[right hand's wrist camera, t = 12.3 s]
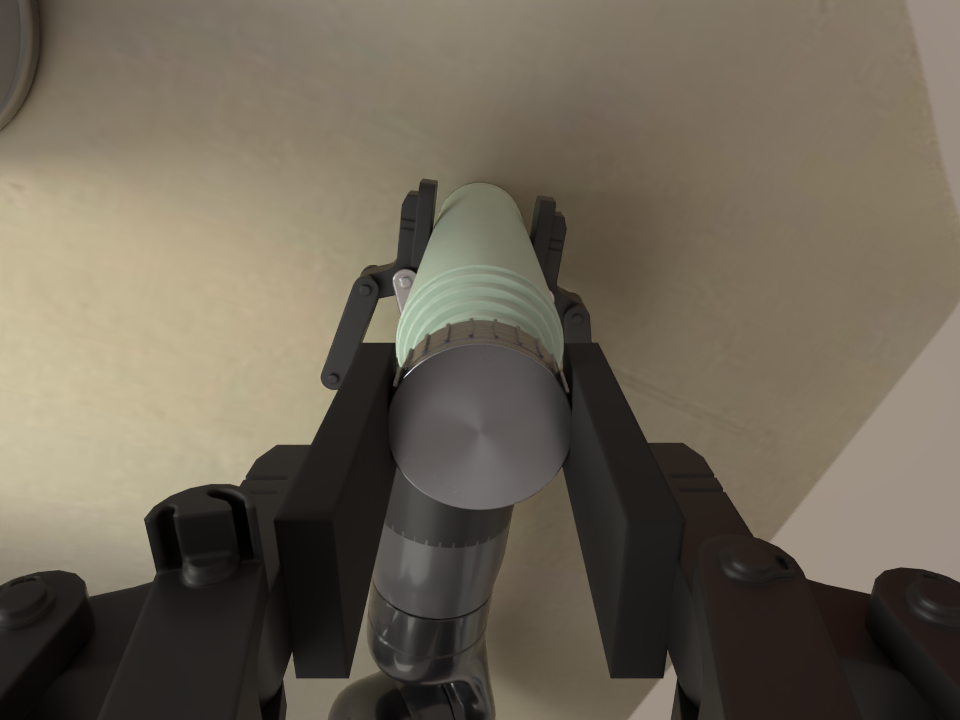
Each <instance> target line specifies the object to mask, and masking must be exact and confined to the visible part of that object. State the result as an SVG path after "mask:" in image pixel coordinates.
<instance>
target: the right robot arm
mask: <svg viewBox="0 0 960 720" xmlns="http://www.w3.org/2000/svg"><path fill="white" fill-rule="evenodd" d="M39 46H40V25H39V12H38V6H37V0H0V130H1V129H2V128H3V127H4V126H5V125H6V124H7V123H9V121H10V120H11V119H12V118H13V117H14V115H15V114H16V113H17V111H18V110H19V108H20V107H21V105H22V104H23V102H24V100H25V98H26V96H27V94H28V92H29V90H30V87H31V84H32V81H33V78H34V75H35V71H36V66H37V62H38V54H39ZM396 372H397V365H396V346H395V343H361V345H360V347H359V349H358V351H357V353H356V355H355V357H354V359H353V361H352V363H351V365H350V367H349V369H348V371H347V373H346V375H345V377H344V379H343V381H342V383H341V385H340V387H339V389H338V391H337V393H336V395H335V397H334V399H333V401H332V403H331V405H330V407H329V409H328V411H327V413H326V416H325V418H324V420H323V422H322V424H321V426H320V428H319V430H318V432H317V434H316V436H315V438H314V440H313V442H312V444H311V445H276V446H275V447H273V448H272V449H271V450H269V451H268V452H266V453H265V454H264V455H262V456H261V457H259V458H258V459H256V461H255V463H254V464H253V466H252V467H251V469H250V471H249V472H248V474H247V475H246V480H243V482H242V483H241V485H240V487H238V486H235V485H231V484H210V485H204V486H199V487H194V488H190V489H187V490H185V491H182V492H179V493H177V494H174V495H172V496H170V497H168V498H167V499H165V500H164V501H162V502H160V503H159V504H157V505H156V506H154V507H153V509H152V510H151V511H150V512H149V514H148V515H147V516H146V517H145V518H144V521H145V525H146V529H147V534H148V538H149V542H150V546H151V551H152V555H153V559H154V563H155V568H156V572H157V573H156V576H155V578H154V581H153V582H151V583H147V584H144V585H140V586H137V587H133V588H128V589H124V590H119V591H114V592H110V593H105V594H101V595H96V596H91V597H89V595H88V591H87V588H86V584H85V582H84V581H83V580H82V579H81V578H80V577H79V576H78V575H77V574H75V573H70V572H65V571H60V570H56V571H46V572H37V573H33V574H29V575H26V576H22V577H19V578H16V579H13V580H11V581H9V582H7V583H5V584H3V585H1V586H0V720H285V718H286V708H287V704H286V697H285V690H284V683H283V677H284V674H285V671H286V668H287V665H288V662H289V659H290V657H291V654H292V652H293V659H294V666H295V673H296V678H349V675H350V671H351V667H352V662H353V658H354V653H355V649H356V645H357V640H358V636H359V632H360V627H361V623H362V618H363V614H364V610H365V605H366V601H367V596H368V592H369V588H370V583H371V579H372V574H373V570H374V566H375V561H376V557H377V552H378V548H379V544H380V539H381V535H382V531H383V526H384V522H385V517H386V513H387V509H388V504H389V500H390V495H391V491H392V487H393V482H394V478H395V473H396V469H397V465H396V463H395V461H394V459H393V457H392V454H391V452H390V444H389V427H388V406H389V403H390V400H391V396H392V393H393V390H394V389H392V385H393V381H394V378H395V375H396ZM563 372H564V375H565V378H566V382H567V385H568V388H569V391H570V395H568V398H569V401H570V405H571V408H572V420H571V437H570V450H569V454H568V456H567V458H566V460H565V462H564V464H563V471H564V475H565V480H566V484H567V488H568V493H569V497H570V502H571V506H572V510H573V515H574V519H575V523H576V528H577V532H578V537H579V541H580V545H581V550H582V554H583V559H584V563H585V567H586V572H587V576H588V581H589V585H590V589H591V594H592V598H593V603H594V607H595V611H596V616H597V620H598V625H599V629H600V633H601V638H602V642H603V646H604V651H605V655H606V660H607V664H608V668H609V673H610V677H611V678H663V677H664V670H665V663H666V656H667V649H668V652H669V655H670V657H671V660H672V663H673V666H674V669H675V672H676V675H677V683H676V690H675V696H674V703H673V709H672V716H671V720H960V583H959V582H957V581H955V580H953V579H951V578H949V577H947V576H944V575H941V574H938V573H934V572H931V571H927V570H923V569H913V568H902V567H901V568H896V569H891V570H886V571H884V572H883V573H882V574H881V575H879V576H878V577H877V578H876V579H875V582H874V586H873V589H872V593H871V594H867V593H863V592H858V591H853V590H849V589H844V588H839V587H835V586H830V585H826V584H822V583H819V582H815V581H812V580H808V579H806V577H805V575H804V572H803V571H802V569H801V568H800V566H799V565H798V564H797V562H796V561H795V559H794V558H792V557H791V556H790V555H788V554H787V553H786V552H785V551H783V550H782V549H780V548H779V547H777V546H775V545H773V544H771V543H768V542H766V541H764V540H762V539H759V538H754V537H753V535H752V533H751V532H750V530H749V529H748V527H747V526H746V524H745V522H744V521H743V519H742V518H741V516H740V514H739V513H738V511H737V510H736V508H735V507H734V505H733V503H732V502H731V500H730V499H729V497H728V495H727V494H726V492H723V488H722V486H721V484H720V483H719V481H718V480H717V478H714V473H713V472H712V470H711V469H710V467H709V465H708V464H707V462H706V461H705V459H704V458H703V457H702V456H701V455H699V454H698V453H696V452H695V451H694V450H692V449H691V448H689V447H688V446H687V445H685V444H684V443H647V441H646V439H645V437H644V435H643V433H642V431H641V429H640V426H639V424H638V422H637V420H636V418H635V416H634V414H633V412H632V410H631V408H630V406H629V404H628V402H627V400H626V398H625V396H624V394H623V392H622V390H621V388H620V386H619V384H618V382H617V380H616V378H615V376H614V374H613V372H612V370H611V368H610V366H609V364H608V362H607V360H606V358H605V356H604V354H603V352H602V350H601V348H600V346H599V344H598V343H564V357H563Z"/></svg>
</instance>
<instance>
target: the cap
mask: <svg viewBox="0 0 960 720" xmlns="http://www.w3.org/2000/svg"><path fill="white" fill-rule="evenodd" d="M392 389H394V390H393V393H392V396H391V400H390V403H389V406H388V427H389V444H390V452H391V454H392V457H393V459H394V461H395V463H396V465H397V466H398V468H399V470H400V471H401V472H402V473H403V475H404V476H405V477H406V478H407V479H408V480H409V481H410V483H411V484H412V485H413V486H415V487H416V488H417V489H419V490H420V491H421V492H422V493H424V494H426V495H427V496H429V497H431V498H432V499H435V500H437V501H439V502H441V503H444V504H447V505H450V506H453V507H458V508H463V509H472V510H489V509H497V508H502V507H506V506H510V505H513V504H516V503H518V502H521V501H523V500H525V499H527V498H529V497H531V496H532V495H534V494H535V493H537V492H538V491H540V490H541V489H542V488H544V487H545V486H546V485H547V484H548V483H549V482H550V481H551V480H552V479H553V478H554V477H555V476H556V475H557V473H558V472H559V470H560V469H561V467H562V466H563V464H564V462H565V460H566V458H567V456H568V454H569V450H570V437H571V420H572V408H571V405H570V401H569V398H568V395H570V391H569V388H568V385H567V382H566V378H565V375H564V372H562V373H561V372H560V370H559V368H558V364H557V361H556V358H555V355H554V354H553V353H552V354H550V353H549V352H548V350H547V349H546V348H545V347H544V346H543V345H542V344H541V342H540V339H539V338H538V337H536V339H535V338H534V337H532V336H531V335H529V334H528V333H526V332H524V331H522V330H521V329H520V326H518V325H517V326H516V327H514V326H511V325H508V324H505V323H501V322H498V321H497V319H493V321H488V320H473V318H469V321H464V322H459V323H455V324H452V325H450V323H447V324H446V327H444V328H441V329H439V330H437V331H435V332H434V333H432V334H429V333H427V334H426V335H425V338H424V339H423V340H422V341H421V342H420V343H419V344H418V345H417V346H416V347H415V348H414V349H412V348H410V349H409V351H408V355H407V358H406V359H405V361H404V363H403V365H402V367H400V366H398V369H397V372H396V375H395V378H394V381H393V385H392Z"/></svg>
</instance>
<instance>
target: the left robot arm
mask: <svg viewBox="0 0 960 720" xmlns="http://www.w3.org/2000/svg"><path fill="white" fill-rule="evenodd" d="M437 187H438V181H436V180H429V179H422V180H421V182H420V186H419V191H412V190H411V191H410V192H409V193H408V194H407V196H406V198H405V200H404V202H403V204H402V210H401V221H400V232H399V243H398V254H397V260H396V261H394V262H393V263H390V264H387V265H382V266H377V265H369V266H367V267H366V268H365V269H364V270H363V271H362V273H361V275H360V277H359V278H358V279H357V280H356V281H355V283H354V285H353V287H352V290H351V293H350V295H349V298H348V301H347V304H346V307H345V309H344V312H343V315H342V318H341V321H340V323H339V326H338V329H337V332H336V335H335V337H334V340H333V343H332V346H331V348H330V351H329V354H328V357H327V360H326V362H325V365H324V368H323V371H322V374H321V381H322V383H323V385H324V386H325V387H327V388H328V389H332V390H337V389H339V387H340V385H341V383H342V381H343V379H344V377H345V375H346V373H347V371H348V369H349V367H350V365H351V363H352V361H353V359H354V357H355V355H356V353H357V351H358V349H359V347H360V345H361V343H362V342H363V340H364V337H365V334H366V332H367V329H368V326H369V324H370V321H371V318H372V316H373V313H374V310H375V308H376V305H377V302H378V300H379V298H384V297H389V296H393V295H396V299H397V303H398V307H399V311H400V315H402V312H403V309H404V307H405V304H406V301H407V299H408V296H409V293H410V291H411V288H412V285H413V282H414V280H415V277H416V274H417V272H418V269H419V266H420V264H421V261H422V258H423V256H424V253H425V250H426V248H427V245H428V242H429V240H430V237H431V234H432V232H433V224H434V215H435V206H436V197H437ZM555 209H556V201H555V200H554V199H553V198H551V197H544V196H537V199H536V204H535V209H534V215H533V221H532V227H531V233H530V241H531V243H532V246H533V249H534V251H535V254H536V257H537V259H538V262H539V265H540V267H541V270H542V273H543V275H544V278H545V281H546V283H547V286H548V289H549V292H550V294H551V297H552V300H553V302H554V305H555V308H556V310H557V313H558V316H559V318H560V322H561V325H562V329H563V338H564V343H591V326H590V315H589V313H588V311H587V309H586V307H585V305H584V303H583V301H582V299H581V298H580V296H579V295H577V294H576V293H570V292H568V291H566V290H564V289H562V288H561V287H559V286H558V285H557V277H558V272H559V266H560V261H561V256H562V250H563V245H564V240H565V235H566V230H567V228H566V223H565V218H564V216H563V215H562V213H561V212H556V211H555ZM563 357H564V349H563V356H562V360H563ZM396 365H397V369H398V366H399V363H398V358H396ZM560 372H561V373H562V372H563V369H562V370H560ZM513 505H514V504H513ZM513 505H510V506H506V507H502V508H497V509H489V510H472V509H463V508H458V507H453V506H450V505H447V504H444V503H441V502H439V501H437V500H435V499H432V498H431V497H429V496H427V495H426V494H424V493H422V492H421V491H420V490H419V489H417V488H416V487H415V486H413V485H412V484H411V483H410V481H409V480H408V479H407V478H406V477H405V476H404V475H403V473H402V472H401V471H400V470H399V468H398V466H397V469H396V473H395V478H394V482H393V487H392V491H391V495H390V500H389V504H388V509H387V513H386V517H385V522H384V526H383V531H382V535H381V539H380V544H379V548H378V552H377V557H376V561H375V566H374V570H373V574H372V579H371V587H370V597H369V608H368V620H367V641H368V646H369V650H370V653H371V656H372V657H373V659H374V661H375V663H376V664H377V666H378V667H379V668H380V669H381V670H382V671H380V672H377V673H375V674H372V675H370V676H367V677H365V678H362V679H360V680H358V681H355V682H354V683H352V684H350V685H349V686H347V687H346V688H345V689H343V690H342V691H341V692H340V694H339V695H338V696H337V698H336V699H335V701H334V702H333V704H332V707H331V710H330V712H329V716H328V720H495V716H496V713H495V704H494V698H493V692H492V687H491V682H490V676H489V668H488V658H487V650H486V642H485V629H486V625H487V619H488V614H489V609H490V603H491V598H492V592H493V587H494V583H495V580H496V577H497V574H498V572H499V569H500V566H501V563H502V560H503V557H504V552H505V547H506V542H507V537H508V532H509V527H510V521H511V516H512V511H513Z"/></svg>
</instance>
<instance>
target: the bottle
mask: <svg viewBox="0 0 960 720" xmlns="http://www.w3.org/2000/svg"><path fill="white" fill-rule="evenodd" d="M469 318H473V320H488V321H493V319H497V321H498V322H501V323H505V324H508V325H511V326H514V327H516V326H517V325H518V326H520V329H521V330H522V331H524V332H526V333H528V334H529V335H531V336H532V337H534V338H535V339H536V337H538V338H539V339H540V342H541V344H542V345H543V346H544V347H545V348H546V349H547V350H548V352H549V353H550V354H552V353H553V354H554V355H555V358H556V361H557V364H558V368H560V364H561V361H562V356H563V349H564V338H563V329H562V325H561V322H560V318H559V316H558V313H557V310H556V308H555V305H554V302H553V300H552V297H551V294H550V292H549V289H548V286H547V283H546V281H545V278H544V275H543V273H542V270H541V267H540V265H539V262H538V259H537V257H536V254H535V251H534V249H533V246H532V243H531V241H530V238H529V235H528V233H527V230H526V227H525V225H524V222H523V219H522V217H521V214H520V211H519V209H518V206H517V205H516V203H515V201H514V200H513V199H512V197H511V196H510V195H509V194H508V193H507V192H505V191H504V190H503V189H501V188H499V187H497V186H495V185H492V184H488V183H471V184H468V185H464V186H462V187H460V188H458V189H457V190H455V191H454V192H453V193H452V194H451V195H450V196H449V197H448V198H447V199H446V201H445V202H444V204H443V206H442V208H441V210H440V213H439V215H438V218H437V221H436V224H435V226H434V229H433V232H432V234H431V237H430V240H429V242H428V245H427V248H426V250H425V253H424V256H423V258H422V261H421V264H420V266H419V269H418V272H417V274H416V277H415V280H414V282H413V285H412V288H411V291H410V293H409V296H408V299H407V301H406V304H405V307H404V309H403V312H402V315H401V318H400V320H399V323H398V328H397V333H396V353H397V358H398V363H399V366H400V367H402V365H403V363H404V361H405V359H406V358H407V355H408V351H409V349H410V348H412V349H414V348H415V347H416V346H417V345H418V344H419V343H420V342H421V341H422V340H423V339H424V338H425V335H426V334H427V333H429V334H432V333H434V332H435V331H437V330H439V329H441V328H444V327H446V324H447V323H450V325H452V324H455V323H459V322H464V321H469Z"/></svg>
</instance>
